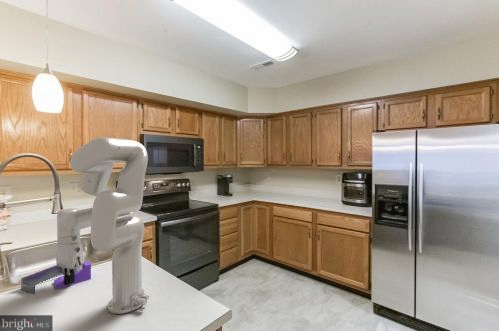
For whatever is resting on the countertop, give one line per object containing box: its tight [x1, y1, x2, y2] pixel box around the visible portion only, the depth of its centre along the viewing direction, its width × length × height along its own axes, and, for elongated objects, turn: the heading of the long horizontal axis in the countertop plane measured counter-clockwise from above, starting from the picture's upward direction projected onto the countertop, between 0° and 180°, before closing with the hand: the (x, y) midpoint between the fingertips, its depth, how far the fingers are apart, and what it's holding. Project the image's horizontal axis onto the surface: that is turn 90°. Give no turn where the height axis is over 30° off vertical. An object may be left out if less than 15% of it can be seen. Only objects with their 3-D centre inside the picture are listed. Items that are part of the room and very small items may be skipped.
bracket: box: [53, 260, 92, 290], centre depth 103 cm, size 12×7×7 cm, turn 134°
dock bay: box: [20, 264, 77, 295], centre depth 102 cm, size 8×17×5 cm, turn 161°
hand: (69, 283), depth 98 cm, fingers closed
